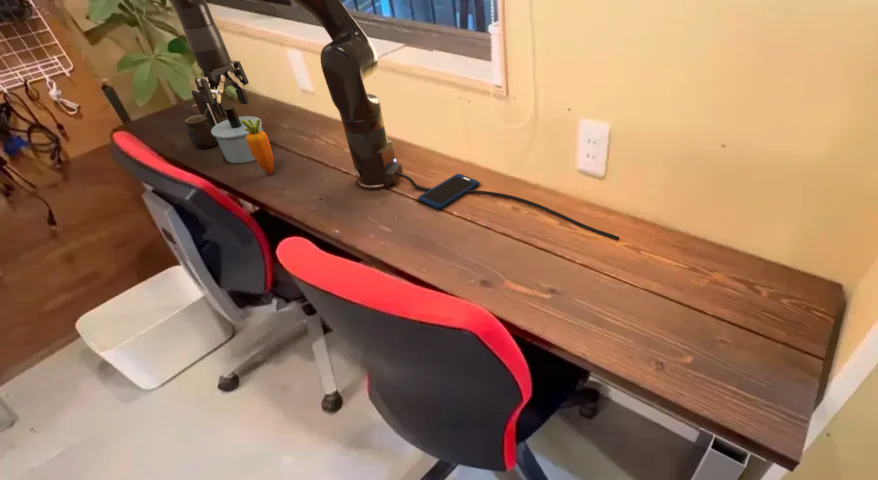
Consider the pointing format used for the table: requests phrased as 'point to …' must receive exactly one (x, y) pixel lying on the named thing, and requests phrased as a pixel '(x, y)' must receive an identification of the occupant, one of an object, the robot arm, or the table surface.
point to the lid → (232, 125)
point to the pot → (236, 149)
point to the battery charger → (203, 106)
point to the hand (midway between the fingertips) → (234, 110)
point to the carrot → (259, 145)
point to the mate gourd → (200, 131)
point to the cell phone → (448, 191)
